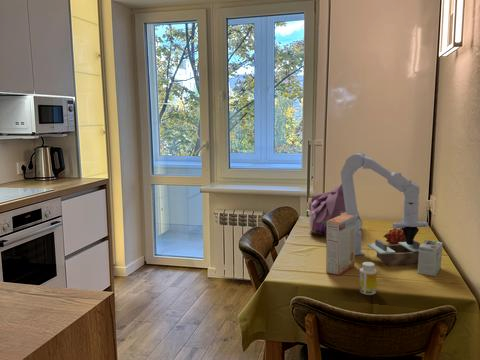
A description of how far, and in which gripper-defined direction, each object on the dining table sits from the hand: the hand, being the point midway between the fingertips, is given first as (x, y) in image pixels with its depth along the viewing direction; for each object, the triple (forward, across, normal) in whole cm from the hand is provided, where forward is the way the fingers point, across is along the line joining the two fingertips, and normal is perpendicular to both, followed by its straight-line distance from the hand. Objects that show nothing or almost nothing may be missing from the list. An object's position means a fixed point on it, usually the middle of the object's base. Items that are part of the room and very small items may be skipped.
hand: (409, 244), depth 181 cm
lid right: (+1, +2, 0) cm, 2 cm away
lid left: (+1, -12, 0) cm, 13 cm away
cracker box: (+7, -32, -6) cm, 33 cm away
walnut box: (+7, -4, 0) cm, 8 cm away
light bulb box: (+7, +1, -13) cm, 15 cm away
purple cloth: (+7, -16, +48) cm, 51 cm away
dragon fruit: (+7, +6, +21) cm, 23 cm away
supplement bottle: (+7, -31, -29) cm, 43 cm away
